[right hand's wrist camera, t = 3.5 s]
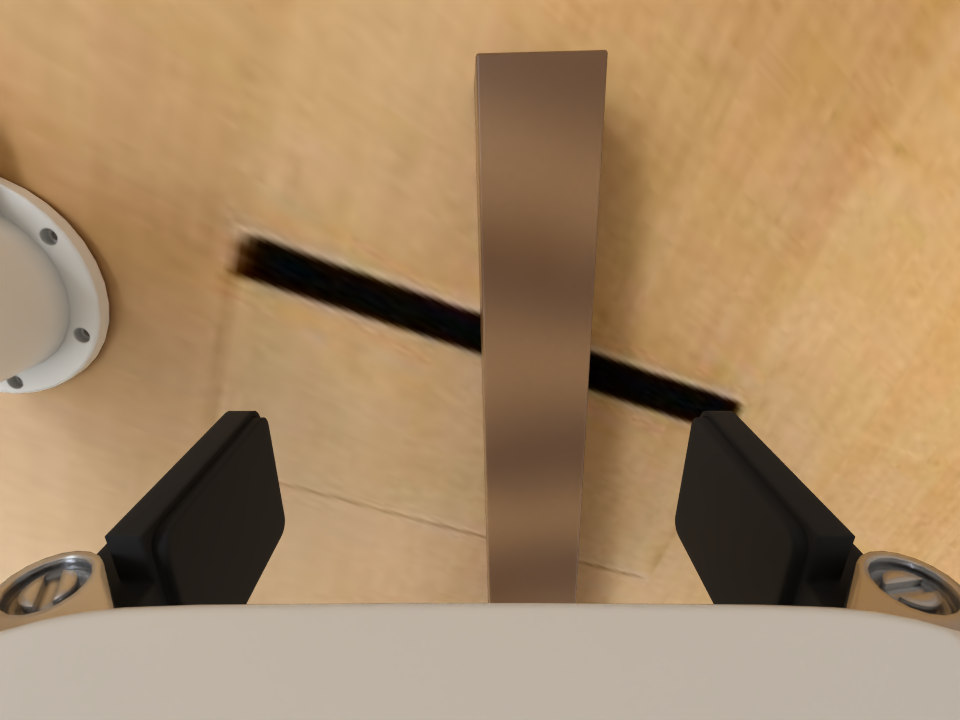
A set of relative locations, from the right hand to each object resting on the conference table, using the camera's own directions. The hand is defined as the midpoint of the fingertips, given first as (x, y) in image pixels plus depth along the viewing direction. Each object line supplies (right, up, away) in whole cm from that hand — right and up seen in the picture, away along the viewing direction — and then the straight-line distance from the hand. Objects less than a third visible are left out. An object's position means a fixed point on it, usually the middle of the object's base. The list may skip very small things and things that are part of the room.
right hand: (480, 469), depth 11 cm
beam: (+3, -15, +27) cm, 31 cm away
